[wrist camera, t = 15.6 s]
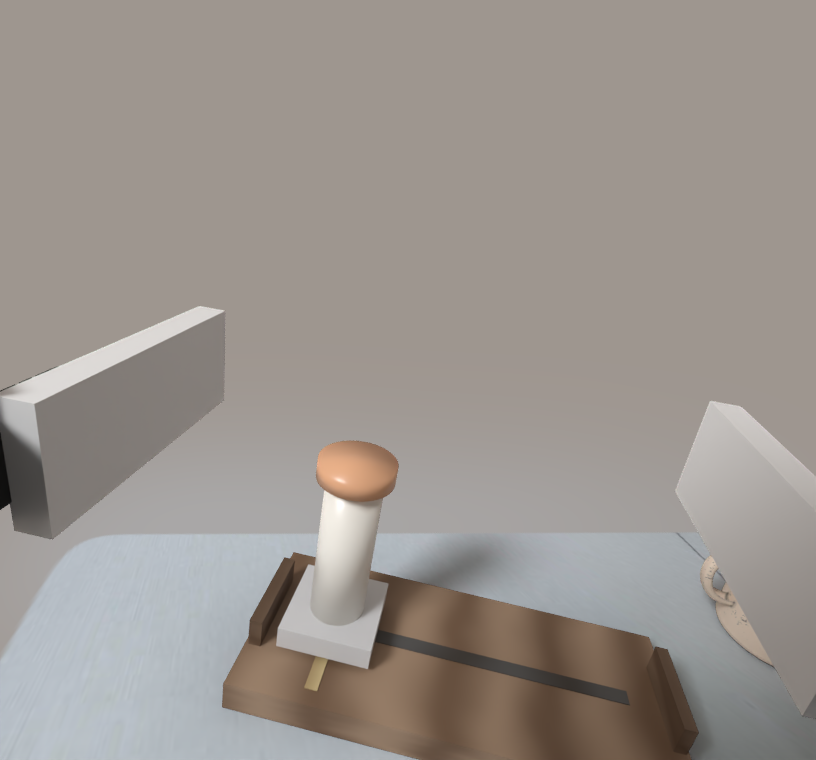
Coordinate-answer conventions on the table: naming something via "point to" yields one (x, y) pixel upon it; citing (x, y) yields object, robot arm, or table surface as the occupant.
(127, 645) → the table surface
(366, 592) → the fader
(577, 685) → the fader track
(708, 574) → the teacup with lid
